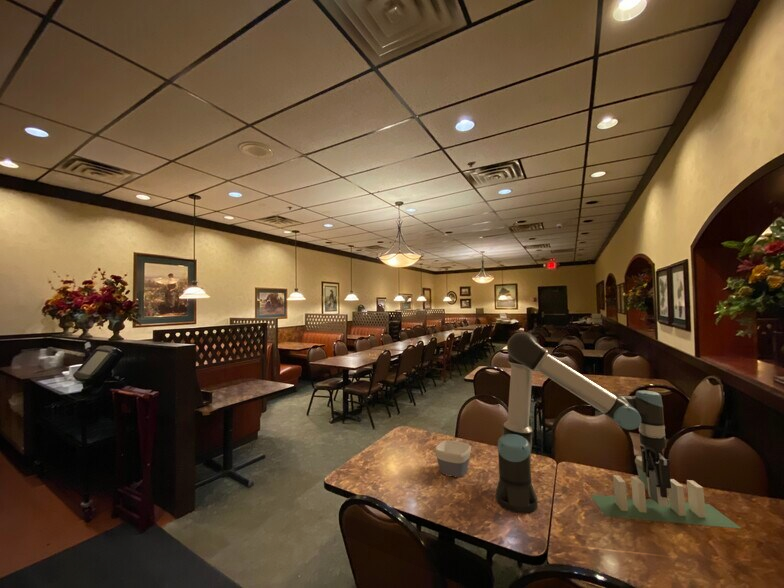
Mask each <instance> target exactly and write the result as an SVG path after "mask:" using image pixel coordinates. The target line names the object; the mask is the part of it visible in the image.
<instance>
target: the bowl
mask: <svg viewBox="0 0 784 588" xmlns="http://www.w3.org/2000/svg"><path fill="white" fill-rule="evenodd" d="M471 450H472V446H471V445H470V444H468V443H465V442H462V441H456V440H447V439H446V440H443V441H441V442H440V443H438V444H437V445H436V447H435V449H434V451H435V456H436V460H437V463H438V464H437V465H438V467H439V471H441V472H442V473H444V474H447V475H451V476H456V477H460V478H462V477H463V476H465V475H466V474H467V472H468V468H469V462H470V455H471V453H472V452H471ZM441 472H440V473H441ZM442 473H441V474H442ZM465 473H466V474H465ZM444 474H443V475H444ZM464 474H465V475H464ZM447 475H446V476H447ZM451 476H450V477H451ZM461 476H462V477H461ZM456 477H455V478H456Z"/></svg>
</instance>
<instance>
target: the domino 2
mask: <svg viewBox="0 0 784 588" xmlns="http://www.w3.org/2000/svg"><path fill="white" fill-rule="evenodd" d="M630 482H631V496H632V497H631V498H632V499H633V505H634V506H635V507H636V508H637V509H638V510H639V511H640V512H645V513H647V510H646V499H647V498H646V491H645V485H644V483H643V482H642V481H641V480H640V479H639V476H630Z"/></svg>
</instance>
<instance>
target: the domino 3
mask: <svg viewBox="0 0 784 588" xmlns="http://www.w3.org/2000/svg"><path fill="white" fill-rule="evenodd" d="M670 482H671V489H669V488H667V490H668V501H670V508H671V509H673V510H674V511H675V512H676V513H677V514H678V515H679V516H686V512H685V502H686V501H685V493H684V492H685V490H684V486H683V485H682V484H681V483H680V482H679V481H677V480H676V479H674V478H670Z"/></svg>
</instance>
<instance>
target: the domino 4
mask: <svg viewBox="0 0 784 588" xmlns="http://www.w3.org/2000/svg"><path fill="white" fill-rule="evenodd" d="M686 490H687V491H686V492H687V498H688V499H687V501H688V502H689V509H690V510H691V511H692V512H694V513H695V514H696V515H697V516H698V517H702V518H706V512H705V504H706V503H705V494H704V493H705V491H704V487H703V486H701V485H700V484H698V483H697V482H696V481H695V480H693V479H692V480H691V479H690V480H689V479H686Z"/></svg>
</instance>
